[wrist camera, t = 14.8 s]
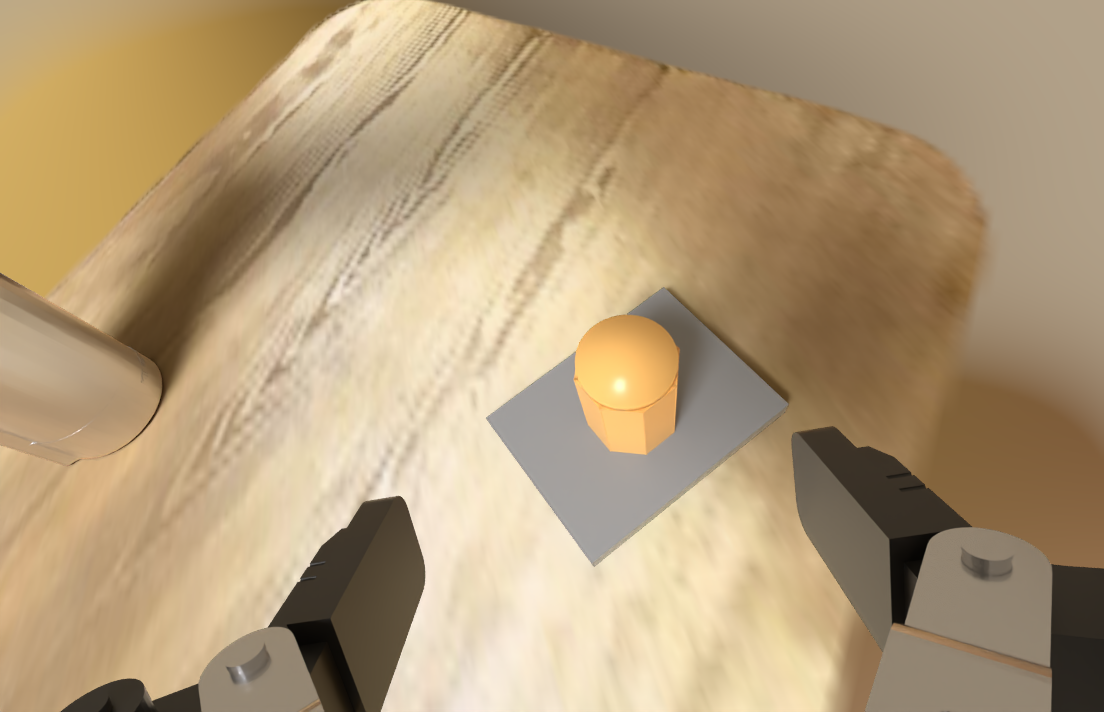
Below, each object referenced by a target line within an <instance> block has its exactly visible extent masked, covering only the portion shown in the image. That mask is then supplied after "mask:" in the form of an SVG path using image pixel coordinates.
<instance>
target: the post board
mask: <svg viewBox="0 0 1104 712" xmlns="http://www.w3.org/2000/svg"><path fill="white" fill-rule="evenodd" d="M626 315H637V316H642V317H645V318H648V319H651V320H653V321H655V322H656V323H658V324H659V325H661V326H662V327H663V328H664V329H665V330H666V331H667V332H668V333H669V334H670V336H671V337H672V339H673V340H674V342H675V345H676V346H677V347H678V348H679V349H680V353H679V369H678V385H677V401H676V416H675V432H674V433H673V434H672V435H671V436H669V437H668V438H667V439H665V440H664V441H663V442H662V443H660V444H659V445H658V446H657V447H655V448H654V449H653V450H652V451H650V452H649V453H648V454H647V455H644V454H634V453H623V452H613V451H611V452H610V451H609V449H608V448H607V447H606V446H605V444H604V443H603V442H602V441H601V440H600V438H599V437H598V436H597V435H596V434H595V432H594V431H593V430H592V429H591V428H590V427H589V426H588V423H587V420H586V417H585V414H584V411H583V408H582V404H581V401H580V398H579V395H578V392H577V389H576V386H575V382H574V375H575V355H576V352H575V353H573V354H572V355H571V356H569V357H568V358H567V359H565V360H564V361H563V362H561V363H560V364H559V365H557V366H556V367H554V368H553V369H552V370H550V371H549V372H548V373H546V374H545V375H544V376H542V377H541V378H539V379H538V380H537V381H535V382H534V383H533V384H531V385H530V386H529V387H527V388H526V389H525V390H523V391H522V392H520V393H519V394H518V395H516V396H515V397H514V398H512V399H511V400H510V401H508V402H507V403H505V404H504V405H503V406H501V407H500V408H499V409H497V410H496V411H495V412H493V413H492V414H491V415H489V416H488V417H486V419H487V421H488V422H489V423H490V425H491V426H492V427H493V429H494V430H495V432H496V433H497V434H498V436H499V437H500V438H501V440H502V441H503V443H504V444H505V445H506V447H507V448H508V449H509V451H510V452H511V453H512V455H513V456H514V458H515V459H516V460H517V462H518V463H519V464H520V466H521V467H522V469H523V470H524V471H525V473H526V474H527V475H528V477H529V478H530V480H531V481H532V482H533V484H534V485H535V486H536V488H537V489H538V491H539V492H540V493H541V495H542V496H543V497H544V499H545V500H546V502H547V503H548V504H549V506H550V507H551V508H552V510H553V511H554V513H555V514H556V515H557V517H558V518H559V519H560V521H561V522H562V524H563V525H564V526H565V528H566V529H567V530H568V532H569V533H570V535H571V536H572V537H573V539H574V540H575V541H576V543H577V544H578V546H579V547H580V548H581V550H582V551H583V552H584V554H585V555H586V556H587V558H588V559H589V561H590V562H591V563H592V565H593V566H596V565H597V564H598V563H599V562H601V561H602V560H603V559H604V558H606V557H607V556H608V555H609V554H611V553H612V552H613V551H614V550H615V549H617V548H618V547H619V546H620V545H622V544H623V543H624V542H625V541H627V540H628V539H629V538H630V537H632V536H633V535H634V534H635V533H636V532H638V531H639V530H640V529H641V528H643V527H644V526H645V525H646V524H648V523H649V522H650V521H651V520H653V519H654V518H655V517H656V516H657V515H659V514H660V513H661V512H662V511H664V510H665V509H666V508H667V507H669V506H670V505H671V504H672V503H674V502H675V501H676V500H677V499H678V498H680V497H681V496H682V495H683V494H685V493H686V492H687V491H688V490H690V489H691V488H692V487H693V486H695V485H696V484H697V483H698V482H700V481H701V480H702V479H703V478H704V477H706V476H707V475H708V474H709V473H711V472H712V471H713V470H714V469H716V468H717V467H718V466H719V465H721V464H722V463H723V462H724V461H725V460H727V459H728V458H729V457H730V456H732V455H733V454H734V453H735V452H737V451H738V450H739V449H740V448H742V447H743V446H744V445H745V444H746V443H748V442H749V441H750V440H751V439H753V438H754V437H755V436H756V435H758V434H759V433H760V432H761V431H763V430H764V429H765V428H766V427H767V426H769V425H770V424H771V423H772V422H774V421H775V420H776V419H777V418H779V417H780V416H781V415H782V414H784V413H785V411H786V409H787V407H788V405H789V404H788V403H787V402H786V401H785V400H784V399H783V398H782V397H781V396H780V395H778V394H777V393H776V392H775V391H774V390H773V389H772V388H771V387H770V386H769V385H768V384H767V383H766V382H765V381H764V380H762V379H761V378H760V377H759V376H758V375H757V374H756V373H755V372H754V371H753V370H752V369H751V368H750V367H749V366H748V365H746V364H745V363H744V362H743V361H742V360H741V359H740V358H739V357H738V356H737V355H736V354H735V353H734V352H733V351H732V350H730V349H729V348H728V347H727V346H726V345H725V344H724V343H723V342H722V341H721V340H720V339H719V338H718V337H717V336H716V335H714V334H713V333H712V332H711V331H710V330H709V329H708V328H707V327H706V326H705V325H704V324H703V323H702V322H701V321H700V320H698V319H697V318H696V317H695V316H694V315H693V314H692V313H691V312H690V311H689V310H688V309H687V308H686V307H685V306H683V305H682V304H681V303H680V302H679V301H678V300H677V299H676V298H675V297H674V296H673V295H672V294H671V293H670V292H669V291H667V290H666V289H665V288H664V287H663V288H662V289H660V290H659V291H658V292H656V293H655V294H654V295H652V296H651V297H650V298H648V299H647V300H646V301H644V302H643V303H641V304H640V305H639V306H637V307H636V308H635V309H633V310H632V311H631V312H629V313H628V314H626Z"/></svg>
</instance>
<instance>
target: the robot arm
mask: <svg viewBox="0 0 1104 712" xmlns="http://www.w3.org/2000/svg"><path fill="white" fill-rule="evenodd" d="M161 393H162V377H161V373H160V370H159V369H158V367H157V365H156V364H155V363H154V362H153V361H151V360H150V359H149V358H147V357H145V356H144V355H142V354H140V353H139V352H137V351H136V350H134V349H133V348H131V347H129V346H126V345H125V344H123V343H121V342H119V341H118V340H116V339H114V338H113V337H111V336H109V335H108V334H106V333H104V332H102V331H101V330H99V329H97V328H95V327H94V326H92V325H90V324H88V323H87V322H85V321H83V320H81V319H80V318H78V317H76V316H74V315H73V314H71V313H69V312H67V311H66V310H64V309H62V308H61V307H59V306H57V305H55V304H54V303H52V302H50V301H48V300H47V299H45V298H43V297H41V296H40V295H38V294H36V293H34V292H33V291H31V290H29V289H27V288H25V287H24V286H22V285H20V284H19V283H17V282H15V281H13V280H12V279H10V278H8V277H7V276H5V275H3V274H1V273H0V445H1V446H4V447H8V448H11V449H14V450H17V451H20V452H23V453H27V454H30V455H33V456H36V457H39V458H42V459H46V460H49V461H52V462H55V463H58V464H62V465H65V466H69V465H70V464H72V463H73V462H75V461H77V460H79V459H92V458H98V457H102V456H106V455H108V454H110V453H112V452H115V451H117V450H118V449H120V448H121V447H123V446H125V445H126V444H128V443H129V442H130V441H131V440H132V439H133V438H135V437H136V436H137V435H138V434H139V433H140V432H141V431H142V429H143V428H144V427H145V426H146V425H147V424H148V422H149V421H150V419H151V417H152V416H153V414H154V413H155V410H156V408H157V406H158V403H159V401H160V397H161ZM792 456H793V468H794V479H795V491H796V502H797V508H798V513H799V517H800V520H801V523H802V526H803V528H804V530H805V532H806V534H807V536H808V537H809V539H810V540H811V542H812V543H813V545H814V547H815V548H816V550H817V551H818V553H819V554H820V556H821V557H822V559H823V561H824V562H825V564H826V565H827V567H828V568H829V570H830V571H831V573H832V574H833V576H834V578H835V579H836V581H837V582H838V584H839V585H840V587H841V588H842V590H843V591H844V593H845V595H846V596H847V598H848V599H849V601H850V602H851V604H852V605H853V607H854V609H855V610H856V612H857V613H858V615H859V616H860V618H861V619H862V621H863V622H864V624H865V626H866V627H867V629H868V630H869V632H870V633H871V635H872V636H873V638H874V639H875V641H876V643H877V644H878V646H879V647H880V649H881V650H882V652H883V654H882V658H881V661H880V664H879V668H878V671H877V674H876V677H875V680H874V684H873V687H872V690H871V693H870V696H869V700H868V703H867V706H866V709H865V712H1104V569H1101V568H1086V567H1072V566H1061V565H1053V564H1050V562H1049V560H1048V559H1047V557H1046V556H1045V555H1044V554H1043V553H1042V552H1041V551H1039V550H1038V549H1037V548H1036V547H1034V546H1033V545H1031V544H1029V543H1028V542H1026V541H1024V540H1022V539H1020V538H1017V537H1015V536H1012V535H1009V534H1006V533H1003V532H999V531H995V530H991V529H984V528H973V527H972V526H970V524H968V523H967V522H966V521H965V520H964V519H963V518H962V517H960V516H959V515H958V514H957V513H956V512H955V511H954V510H953V509H952V508H950V507H949V506H948V505H947V504H946V503H945V502H944V501H943V500H942V499H940V498H939V497H938V496H937V495H936V494H935V493H934V492H933V491H931V490H930V489H929V488H926V487H925V484H924V483H922V482H921V481H920V480H919V479H918V478H917V477H916V476H915V475H913V476H912V475H911V472H910V471H909V470H908V469H907V468H906V467H904V466H903V465H902V464H901V463H900V462H899V461H898V460H897V459H895V458H894V457H892V456H890V455H888V454H885V453H883V452H881V451H878V450H876V449H874V448H871V447H869V446H867V447H861V448H856V447H855V446H854V445H853V444H852V443H851V442H850V441H849V440H848V439H847V438H846V437H845V436H844V435H843V434H842V433H841V432H840V431H839V430H838V429H837V428H835V427H833V426H831V427H825V428H819V429H813V430H807V431H801V432H795V433H793V435H792ZM300 579H301V581H300V582H297V584H296V586H295V587H294V589H293V590H292V592H291V593H290V595H289V596H288V598H287V599H286V601H285V602H284V604H283V605H282V607H281V608H280V610H279V611H278V613H277V614H276V616H275V617H274V619H273V620H272V622H271V623H270V625H269V626H268V628H264V629H261V630H257V631H255V632H252V633H250V634H247V635H245V636H243V637H241V638H240V639H238V640H236V641H234V642H233V643H232V644H230V645H229V646H227V647H226V648H225V649H223V650H222V651H221V652H220V653H219V654H218V655H216V656H215V657H214V658H213V659H212V661H211V662H210V663H209V664H208V665H207V667H206V668H205V670H204V671H203V673H202V675H201V677H200V680H199V684H196V685H193V686H191V687H188V688H185V689H183V690H180V691H177V692H175V693H172V694H169V695H167V696H164V697H161V698H159V699H156V700H153V701H152V700H151V698H150V696H149V694H148V692H147V690H146V688H145V686H144V685H143V683H142V682H141V681H140V680H137V679H121V680H117V681H114V682H111V683H108V684H105V685H103V686H101V687H98V688H96V689H94V690H92V691H90V692H89V693H87V694H85V695H83V696H82V697H80V698H79V699H77V700H76V701H74V702H73V703H71V704H70V705H68V706H67V707H66V708H65V709H63V710H62V711H61V712H381V709H382V706H383V703H384V700H385V697H386V695H387V692H388V689H389V686H390V683H391V680H392V678H393V675H394V672H395V669H396V666H397V663H398V661H399V658H400V655H401V652H402V649H403V646H404V644H405V641H406V638H407V635H408V632H409V629H410V626H411V624H412V621H413V618H414V615H415V612H416V609H417V607H418V604H419V601H420V598H421V595H422V592H423V589H424V585H425V565H424V559H423V556H422V552H421V549H420V546H419V543H418V540H417V536H416V533H415V530H414V527H413V523H412V520H411V517H410V514H409V511H408V507H407V505H406V502H405V501H404V499H403V498H402V497H401V496H395V497H389V498H383V499H377V500H371V501H365V502H364V503H362V505H361V506H360V508H359V509H358V511H357V513H356V514H355V516H354V517H353V519H352V521H351V522H350V524H349V525H348V527H347V528H344V529H341V530H340V531H339V532H337V533H336V534H335V535H334V536H333V537H332V538H330V539H329V540H328V541H327V542H326V543H325V544H323V545H322V546H321V548H320V549H319V551H318V552H317V554H316V555H315V557H314V558H313V560H312V561H311V563H310V567H307V569H306V570H305V572H304V573H303V575H302V576H301V578H300Z"/></svg>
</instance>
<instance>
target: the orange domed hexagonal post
mask: <svg viewBox="0 0 1104 712" xmlns="http://www.w3.org/2000/svg"><path fill="white" fill-rule="evenodd" d="M679 353H680V349H679V348H678V347H677V346H676V345H675V342H674V340H673V339H672V337H671V336H670V334H669V333H668V332H667V331H666V330H665V329H664V328H663V327H662V326H661V325H659V324H658V323H656V322H655V321H653V320H651V319H648V318H645V317H642V316H637V315H619V316H614V317H610V318H608V319H605V320H603V321H601V322H599V323H597V324H596V325H594V326H593V327H592V328H591V329H590V330H589V331H588V332H587V333H586V334H585V335H584V336H583V338H582V339H581V341H580V342H579V345H578V348H577V350H576V355H575V375H574V382H575V386H576V389H577V392H578V395H579V398H580V401H581V404H582V408H583V411H584V414H585V417H586V420H587V423H588V426H589V427H590V428H591V429H592V430H593V431H594V432H595V434H596V435H597V436H598V437H599V438H600V440H601V441H602V442H603V443H604V444H605V446H606V447H607V448H608V449H609V451H610V452H611V451H613V452H623V453H634V454H644V455H647V454H648V453H649V452H650V451H652V450H653V449H654V448H655V447H657V446H658V445H659V444H660V443H662V442H663V441H664V440H665V439H667V438H668V437H669V436H671V435H672V434H673V433H674V432H675V416H676V401H677V385H678V369H679Z"/></svg>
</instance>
